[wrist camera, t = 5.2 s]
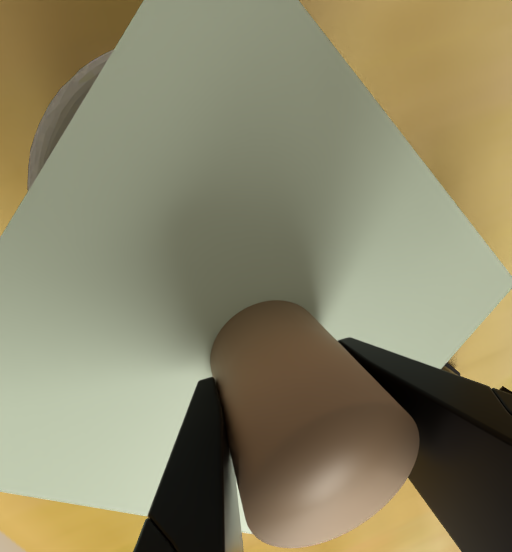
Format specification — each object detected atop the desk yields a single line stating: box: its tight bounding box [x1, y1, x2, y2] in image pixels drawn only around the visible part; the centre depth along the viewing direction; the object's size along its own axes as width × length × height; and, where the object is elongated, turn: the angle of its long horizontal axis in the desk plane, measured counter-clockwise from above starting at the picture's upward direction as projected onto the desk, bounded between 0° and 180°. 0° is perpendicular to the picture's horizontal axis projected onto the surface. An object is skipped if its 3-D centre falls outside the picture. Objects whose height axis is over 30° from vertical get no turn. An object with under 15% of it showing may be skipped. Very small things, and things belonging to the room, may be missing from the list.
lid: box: [0, 0, 512, 548], centre depth 7 cm, size 14×14×5 cm
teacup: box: [28, 49, 114, 191], centre depth 14 cm, size 14×11×8 cm
